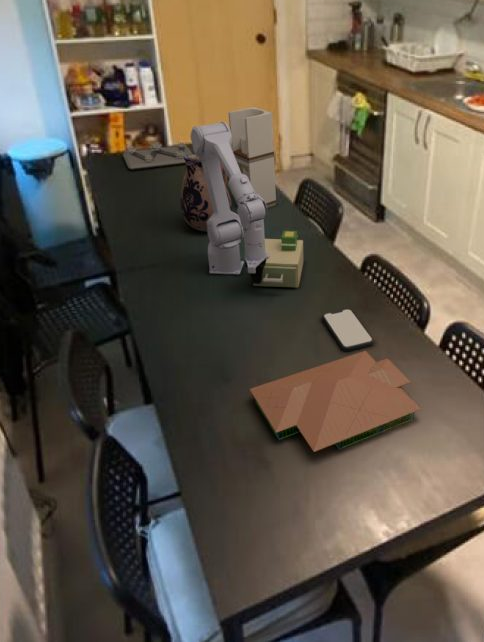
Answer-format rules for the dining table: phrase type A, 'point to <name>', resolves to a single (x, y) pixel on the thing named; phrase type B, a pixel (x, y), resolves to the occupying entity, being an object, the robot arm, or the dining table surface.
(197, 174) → the ceramic pitcher
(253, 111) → the gray hollow column
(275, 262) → the cabinet
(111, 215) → the dining table surface
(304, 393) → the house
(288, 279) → the drawer
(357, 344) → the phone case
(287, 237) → the green box
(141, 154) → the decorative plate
